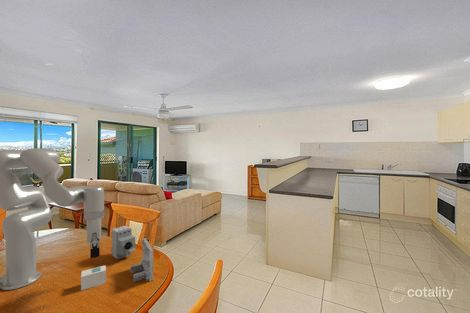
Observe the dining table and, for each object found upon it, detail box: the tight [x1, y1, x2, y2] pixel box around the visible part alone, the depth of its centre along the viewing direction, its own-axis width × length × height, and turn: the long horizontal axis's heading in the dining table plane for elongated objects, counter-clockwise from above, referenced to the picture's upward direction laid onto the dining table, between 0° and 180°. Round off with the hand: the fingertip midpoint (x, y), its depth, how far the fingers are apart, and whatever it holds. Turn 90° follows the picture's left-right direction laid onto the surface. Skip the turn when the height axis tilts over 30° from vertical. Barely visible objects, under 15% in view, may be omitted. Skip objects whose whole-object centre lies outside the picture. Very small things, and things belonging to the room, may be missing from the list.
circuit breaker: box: [110, 225, 136, 260], centre depth 116 cm, size 8×14×15 cm, turn 53°
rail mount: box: [129, 237, 154, 283], centre depth 99 cm, size 8×16×14 cm, turn 35°
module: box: [80, 265, 107, 291], centre depth 91 cm, size 9×5×6 cm, turn 125°
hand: (95, 252), depth 91 cm, fingers open, 9 cm apart
